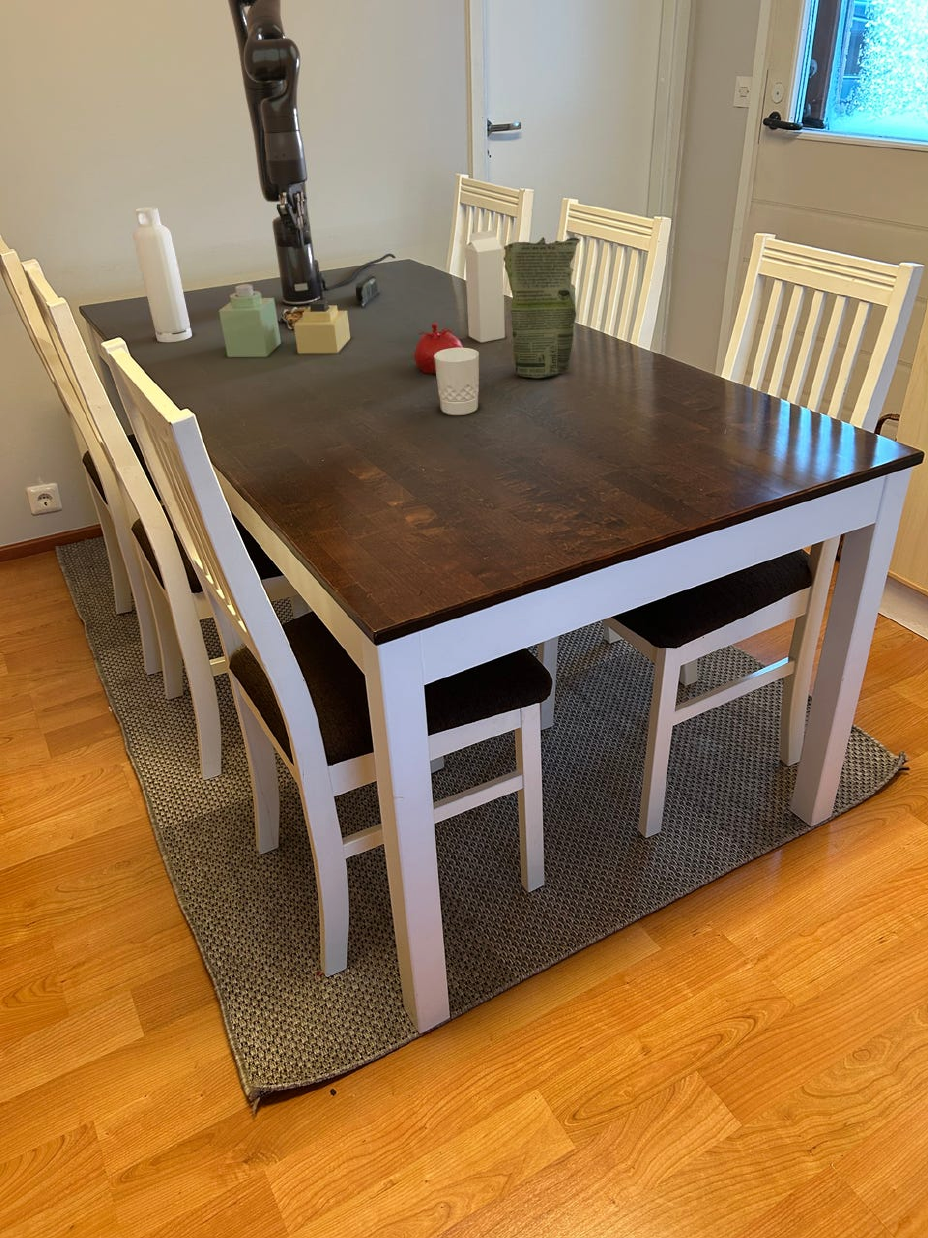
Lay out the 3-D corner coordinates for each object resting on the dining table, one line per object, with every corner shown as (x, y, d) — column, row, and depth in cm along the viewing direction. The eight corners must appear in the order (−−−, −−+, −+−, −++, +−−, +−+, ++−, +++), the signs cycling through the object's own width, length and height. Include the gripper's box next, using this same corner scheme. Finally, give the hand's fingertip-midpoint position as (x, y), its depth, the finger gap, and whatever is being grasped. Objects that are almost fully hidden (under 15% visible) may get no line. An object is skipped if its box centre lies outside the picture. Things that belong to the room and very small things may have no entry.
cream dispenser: (312, 338, 212) (307, 302, 208) (350, 338, 211) (346, 302, 206) (297, 353, 203) (292, 316, 199) (337, 353, 202) (333, 315, 197)
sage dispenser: (243, 343, 212) (233, 288, 205) (281, 343, 210) (272, 288, 204) (227, 356, 204) (216, 300, 197) (266, 356, 202) (257, 300, 196)
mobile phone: (366, 274, 243) (351, 286, 230) (377, 273, 242) (363, 286, 230) (368, 293, 245) (354, 307, 233) (379, 293, 245) (365, 307, 232)
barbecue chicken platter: (294, 332, 217) (292, 316, 215) (277, 321, 226) (275, 306, 224) (322, 327, 220) (320, 311, 218) (304, 316, 229) (302, 301, 227)
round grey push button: (240, 294, 202) (238, 284, 201) (256, 294, 202) (254, 283, 201) (234, 298, 199) (232, 288, 198) (250, 298, 199) (248, 287, 198)
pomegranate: (473, 367, 189) (471, 320, 184) (439, 380, 183) (436, 332, 178) (439, 358, 195) (436, 313, 190) (404, 371, 189) (400, 325, 184)
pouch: (501, 374, 184) (497, 240, 171) (539, 358, 192) (538, 229, 178) (545, 384, 178) (545, 246, 164) (583, 368, 185) (585, 234, 171)
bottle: (196, 331, 222) (170, 204, 207) (185, 341, 215) (157, 211, 200) (164, 332, 223) (136, 206, 208) (151, 342, 216) (121, 212, 201)
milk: (468, 336, 207) (463, 231, 196) (492, 331, 210) (488, 227, 198) (481, 343, 203) (476, 235, 191) (505, 338, 205) (502, 231, 193)
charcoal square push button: (314, 309, 204) (313, 299, 203) (329, 308, 204) (327, 299, 203) (310, 313, 202) (309, 303, 201) (325, 312, 201) (323, 303, 200)
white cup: (449, 419, 165) (446, 364, 160) (430, 406, 171) (426, 352, 165) (488, 410, 168) (486, 355, 162) (468, 398, 174) (465, 344, 168)
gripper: (293, 159, 180) (306, 254, 189) (313, 151, 191) (324, 240, 200) (256, 161, 181) (270, 254, 191) (278, 152, 192) (291, 241, 202)
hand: (298, 247), depth 195 cm, fingers closed
